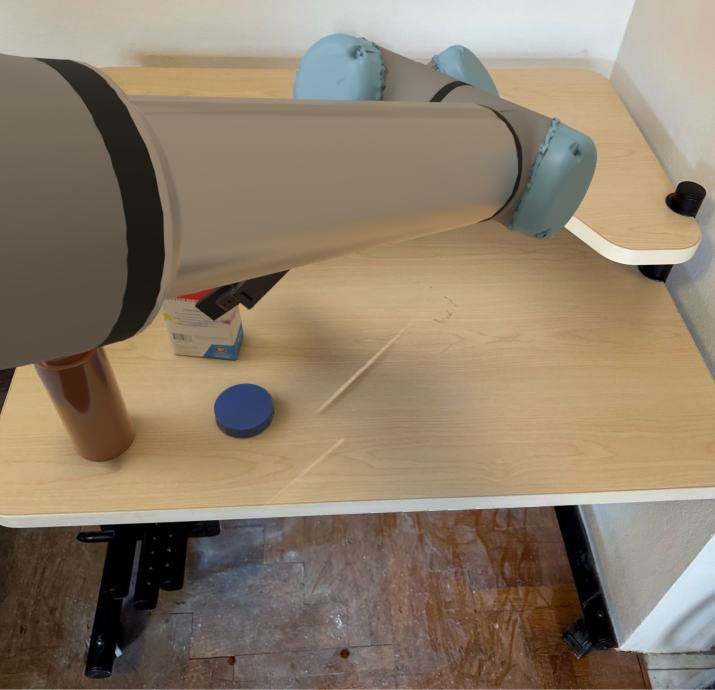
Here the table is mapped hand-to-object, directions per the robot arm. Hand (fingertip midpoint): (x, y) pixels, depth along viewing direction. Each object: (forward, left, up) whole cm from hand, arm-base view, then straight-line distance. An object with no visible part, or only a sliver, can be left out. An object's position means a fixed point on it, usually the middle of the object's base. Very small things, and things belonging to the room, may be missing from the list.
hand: (223, 271), depth 78 cm
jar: (-19, 0, -14) cm, 24 cm away
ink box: (-2, +3, -14) cm, 14 cm away
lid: (-6, -9, -12) cm, 16 cm away
